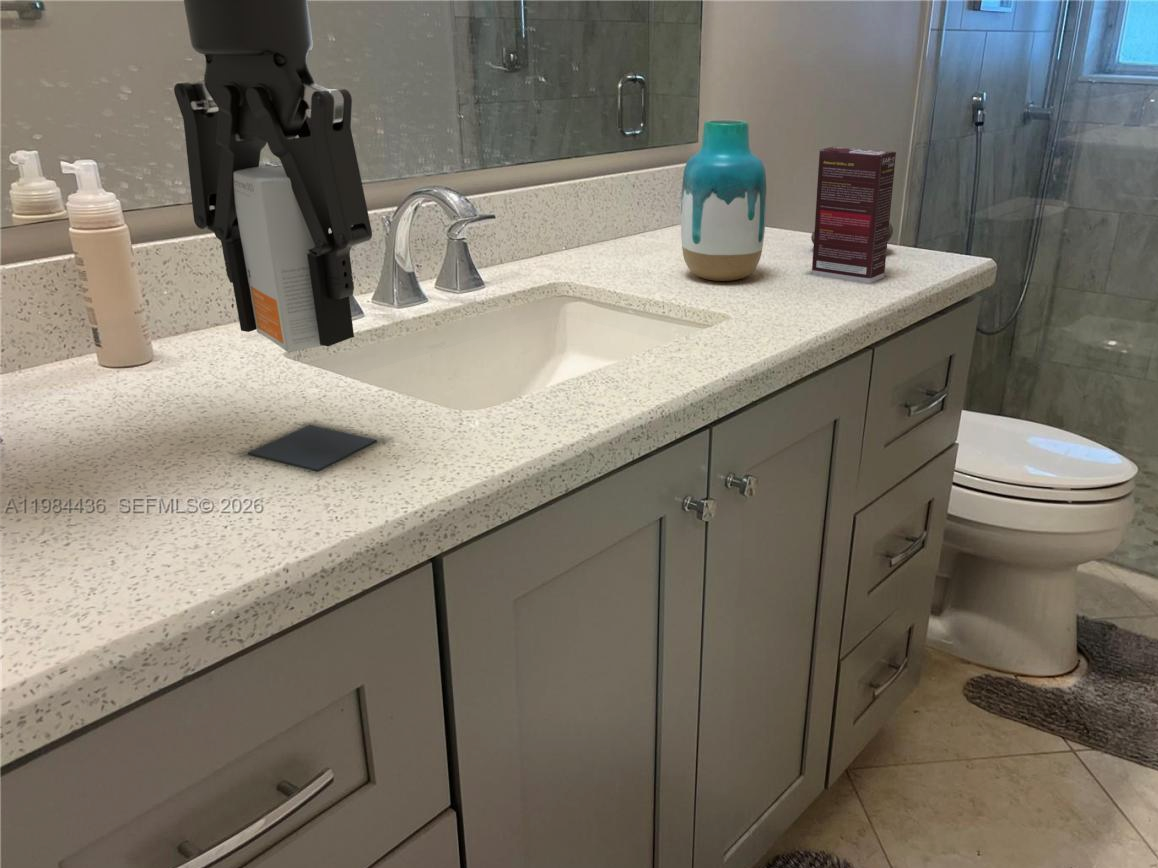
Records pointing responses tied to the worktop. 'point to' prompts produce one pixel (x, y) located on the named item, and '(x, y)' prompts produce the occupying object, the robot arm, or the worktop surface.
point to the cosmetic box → (276, 257)
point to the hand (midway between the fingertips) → (297, 333)
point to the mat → (312, 448)
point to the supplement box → (852, 213)
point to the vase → (723, 204)
